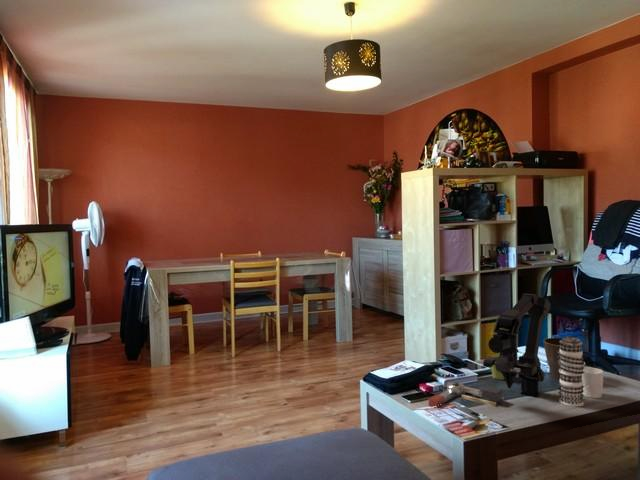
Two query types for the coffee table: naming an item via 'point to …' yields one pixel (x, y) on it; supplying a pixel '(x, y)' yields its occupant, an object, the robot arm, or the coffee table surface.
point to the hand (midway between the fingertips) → (509, 387)
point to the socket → (492, 394)
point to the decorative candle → (571, 372)
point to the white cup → (592, 382)
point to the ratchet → (452, 393)
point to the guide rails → (479, 399)
